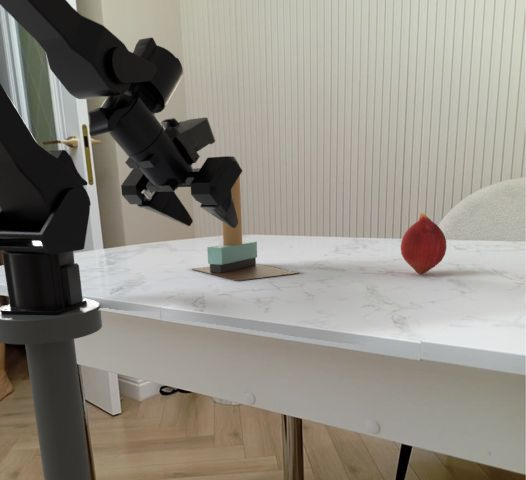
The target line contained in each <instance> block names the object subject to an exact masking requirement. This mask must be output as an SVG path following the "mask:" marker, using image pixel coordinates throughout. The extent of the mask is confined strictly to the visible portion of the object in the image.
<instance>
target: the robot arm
mask: <svg viewBox="0 0 526 480" xmlns="http://www.w3.org/2000/svg"><path fill="white" fill-rule="evenodd" d="M0 7H2V8H3V9H4V10H5V11H6V12H7V13H8V14H9V15H10V16H11V18H13V19H14V20H15V21H16V22H17V23H18V24H19V25H20V26H21V27H22V28H23V29H24V30H25V31H27V33H28V34H29V35H30V36H31V37H32V38H33V39H34V40H35V42H37V43H38V44H39V46H40V47H41V48H42V49H43V51H44V53H45V57H46V60H47V61H46V62H47V64H48V68H49V69H50V71H51V72H52V73H53V75H54V76H55V77H56V79H57V80H58V81H59V82H60V84H61V85H62V86H63V87H64V88H65V90H66V91H67V92H68V93H69V94H70V95H71V96H73V97H74V98H76V99H78V100H89V99H90V100H91V99H96V98H97V99H98V98H105V100H104V101H103V103H102V104H101V106H100V107H98V108H95V109H91V110H89V111H88V117H89V124H88V133H89V136H90V137H92V138H94V137H99V136H101V135H105V134H109V135H110V136H111V137H112V139H113V140H114V141H115V142H116V143H117V145H118V146H119V147H120V148H121V149H122V151H123V152H124V153H125V155H127V156H128V158H127V159H126V161H125V162H124V163H125V164H126V165H127V166H128V168H129V169H132V170H131V171H130V172H129V174H128V175H127V177H126V178H125V179H124V181H123V182H122V184H121V185H120V187H121V188H120V189H121V196H122V197H123V198H124V199H125V201H127V203H129V205H136V206H137V207H138V208H140V209H141V208H142V209H144V210H147V211H150V212H153V213H155V214H157V215H160V216H163V217H165V218H167V219H170V220H172V221H175V222H177V223H179V224H181V225H184V226H186V227H190V226H192V224H193V222H194V220H193V218H192V216H191V214H190V213H189V211H188V210H187V208H186V207H185V206H184V204H183V203H182V201H181V199H180V198H179V197H178V195H177V194H176V192H175V191H177V190H178V189H179V188H190V195H191V196H192V198H193V199H194V200H195V201H196V202H198V203H199V204H200V206H199V207H200V208H201V209H202V210H204V211H205V212H207V213H208V214H210V215H211V216H213V217H215V218H216V219H217V220H219V221H221V222H224V223H225V224H227V225H229V226H230V227H232V228H236V226H237V225H238V218H237V214H236V210H235V206H234V203H233V198H232V191H231V189H232V187H233V185H234V184H235V182H236V181H237V179H238V177H239V176H240V177H241V175H242V172H243V168H242V166H241V165H240V163H239V162H238V160H237V158H236V157H235V156H228V155H227V156H211V157H207V158H206V159H205V161H204V163H203V164H202V166H201V167H200V168H193V166H192V165H194V164H196V163H197V162H198V160H199V158H200V157H201V156H200V155H199V153H198V152H199V151H201V150H202V149H204V148H206V147H207V146H208V145H213V144H214V143H216V139H215V136H214V132H213V130H212V126H211V124H210V122H209V118H208V117H197V118H189V119H187V120H183V121H178V120H177V119H176V118H174V117H172V118H166V119H163V120H162V121H160V119H159V117H157V115H156V114H158V113H161V112H163V111H164V110H165V108H166V106H167V105H168V103H169V102H170V99H172V96H173V94H174V93H175V91H176V89H177V87H178V85H180V82H181V81H182V78H183V75H184V70H183V69H184V68H183V65H182V63H181V61H180V59H179V58H178V57H176V56H175V55H174V53H173V52H171V51H170V50H169V49H167V48H165V47H164V46H163V47H162V46H160V45H157V43H156V41H155V39H154V37H152V36H151V37H145V38H141V39H138V41H137V43H136V44H135V47H134V50H133V52H132V51H130V50H129V49H128V47H127V46H126V44H125V43H124V42H123V41H122V40H121V39H120V38H119V37H117V36H116V35H115V34H114V33H113V32H111V30H110V29H108V28H107V27H106V26H105V25H103V24H101V23H99V22H97V21H95V20H93V19H90V18H89V17H86V16H84V15H82V14H81V13H80V12H79V11H77V10H76V9H75V8H73V6H72V5H71V4H70V2H68V1H67V0H0ZM85 186H88V182H87V180H85V179H84V178H83V177H82V175H81V174H80V173H79V171H78V168H77V166H76V165H75V163H74V160H73V157H72V156H71V155H70V153H69V152H68V151H67V150H66V149H56V150H55V149H54V150H47V149H45V148H44V147H43V146H42V145H41V144H39V143H38V141H37V140H36V138H35V137H34V136H33V134H32V132H31V130H30V129H29V127H28V126H27V124H26V122H25V121H24V119H23V117H22V116H21V114H20V113H19V111H18V109H17V108H16V106H15V104H14V102H13V101H12V99H11V98H10V95H8V93H7V91H6V90H5V88H4V87H3V84H2V83H1V82H0V252H1V256H2V260H3V261H2V262H3V268H4V275H5V283H6V287H7V288H6V289H7V296H8V304H9V305H10V307H7V308H4V309H2V310H1V314H4V315H60V314H62V313H65V312H67V311H69V310H72V309H74V308H77V307H79V306H81V305H84V304H86V303H87V300H86V299H87V298H83V291H82V281H81V272H80V265H79V264H78V262H75V253H74V252H77V251H83V250H84V249H85V245H86V238H87V233H88V225H89V219H90V212H91V211H90V210H91V199H90V196H89V194H88V191H87V189H86V188H85Z"/></svg>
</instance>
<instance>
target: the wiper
mask: <svg viewBox="0 0 526 480" xmlns="http://www.w3.org/2000/svg"><path fill="white" fill-rule="evenodd" d="M231 191H232V198H233V203H234V206H235V210H236V214H237V218H238V225H237V226H236V228H232V227H230V226H229V225H227V224H225V223H224V222H222V221H221V222H222V223H221V224H222V244H218V245H212V246H207V248H206V250H207V264H208V265H209V267H210V272H212V273H224V272H228V271H232V270H237V269H241V268H245V267H249V266H254V265H256V264H257V260H256V259H257V258H258V242H257V241H255V240H254V241H253V240H251V241H250V240H243V226H242V225H243V223H242V198H241V197H242V196H241V195H242V193H241V192H242V191H241V175H240V176H239V177H238V179H237V181H236V182H235V184H234V185H233V187H232V189H231Z"/></svg>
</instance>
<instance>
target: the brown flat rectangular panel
mask: <svg viewBox="0 0 526 480" xmlns="http://www.w3.org/2000/svg"><path fill="white" fill-rule="evenodd" d="M191 270H192V271H197V272H201V273H205V274H208V275H211V276H216V277H220V278H222V279H223V278H224V279H228V280H232V281H235V282H243V281H250V280H258V279H265V278H274V277H282V276H289V275H290V276H291V275H297V274H300V272H299V271H293V270H288V269H282V268H278V267H272V266H268V265H263V264H257V263H256V265H254V266H249V267H245V268H241V269H237V270H232V271H228V272H224V273H212V272H210V266H204V267H196V268H191Z"/></svg>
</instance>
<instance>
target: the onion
mask: <svg viewBox="0 0 526 480" xmlns="http://www.w3.org/2000/svg"><path fill="white" fill-rule="evenodd" d="M446 252H447V239H446V237H445V233H444V232H443V230H442V229H441V228H440V226H438V224H436V223H435V222H434V221H433V220H432V219H430V218H429V217H428V215H427V214H426V213H424V212H420V214H419V218H418V220H417V221H416V222H415V223H413V224H412V225H411V226H410V227H409V228H408V229H407V230H406V231H405V232H404V233H403V236H402V239H401V244H400V253H401V256H402V258H403V259H404V261H405V262H406V263H407V264H408V266H410V267H411V268H412V269H413V270H414V271H415V273H416V274H418V275H424V274H426V273H427V272H429V271H430V270H432V269H434V268H435V267H436V266H438V265H439V264H440V263H441V262H442V260H443V259H444V257H445V255H446Z"/></svg>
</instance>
